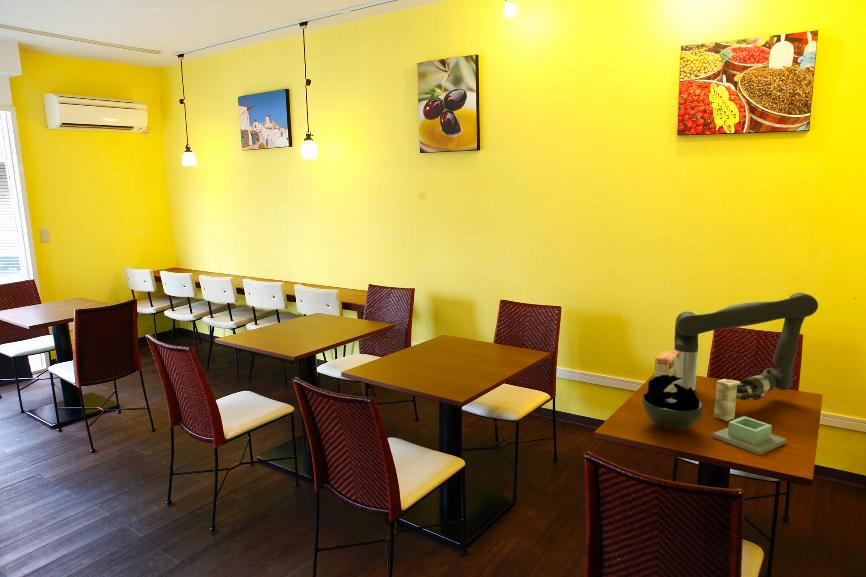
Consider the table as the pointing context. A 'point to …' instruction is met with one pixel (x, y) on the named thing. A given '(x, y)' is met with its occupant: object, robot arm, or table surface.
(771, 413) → the table surface
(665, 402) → the coal bowl
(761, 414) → the table surface
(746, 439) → the socket holder
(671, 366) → the cracker box
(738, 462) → the table surface
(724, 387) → the square peg
